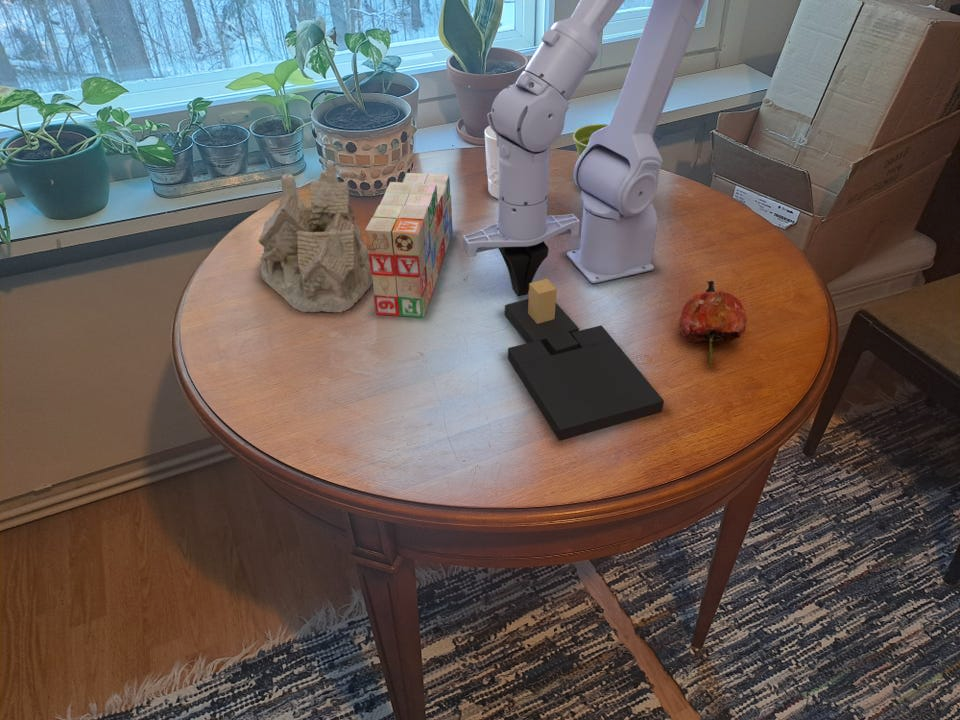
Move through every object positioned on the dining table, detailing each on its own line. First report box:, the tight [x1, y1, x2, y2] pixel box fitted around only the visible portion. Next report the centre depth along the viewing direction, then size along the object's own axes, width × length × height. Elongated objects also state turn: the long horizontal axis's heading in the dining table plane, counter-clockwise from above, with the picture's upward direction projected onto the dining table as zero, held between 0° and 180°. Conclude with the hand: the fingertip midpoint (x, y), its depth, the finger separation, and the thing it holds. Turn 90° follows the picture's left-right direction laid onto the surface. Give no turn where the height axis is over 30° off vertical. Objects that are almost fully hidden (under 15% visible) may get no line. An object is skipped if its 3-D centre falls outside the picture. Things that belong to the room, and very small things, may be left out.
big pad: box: [507, 324, 665, 441], centre depth 78 cm, size 14×12×2 cm
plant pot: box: [572, 123, 609, 159], centre depth 112 cm, size 9×9×9 cm
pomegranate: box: [678, 280, 748, 366], centre depth 81 cm, size 7×7×10 cm
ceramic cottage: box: [257, 160, 373, 314], centre depth 90 cm, size 16×16×15 cm
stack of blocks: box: [365, 172, 453, 319], centre depth 92 cm, size 21×6×12 cm, turn 172°
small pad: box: [504, 278, 580, 356], centre depth 84 cm, size 10×6×6 cm, turn 24°
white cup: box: [484, 124, 499, 200], centre depth 111 cm, size 8×8×10 cm
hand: (520, 291), depth 91 cm, fingers closed
